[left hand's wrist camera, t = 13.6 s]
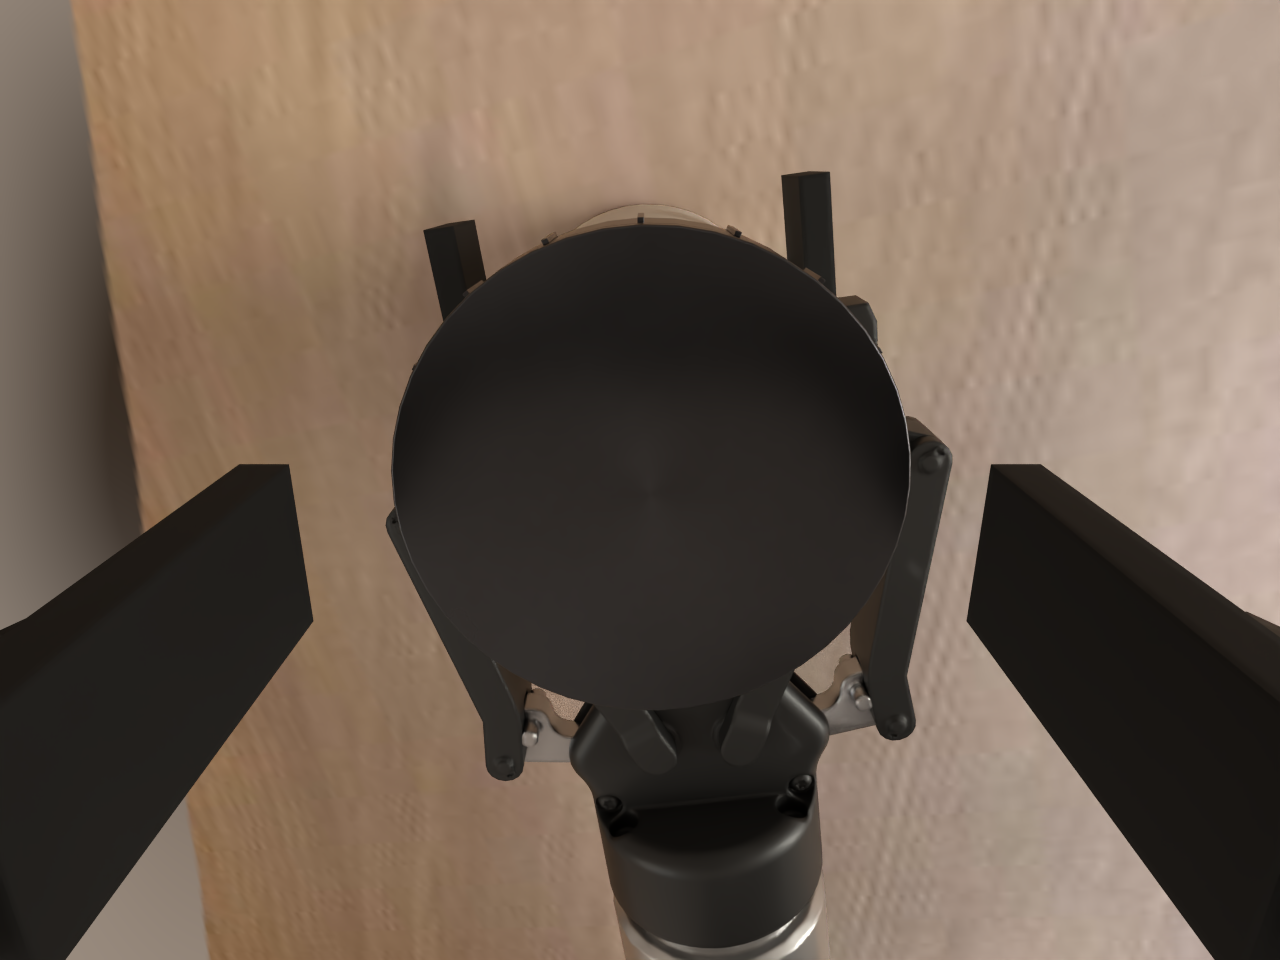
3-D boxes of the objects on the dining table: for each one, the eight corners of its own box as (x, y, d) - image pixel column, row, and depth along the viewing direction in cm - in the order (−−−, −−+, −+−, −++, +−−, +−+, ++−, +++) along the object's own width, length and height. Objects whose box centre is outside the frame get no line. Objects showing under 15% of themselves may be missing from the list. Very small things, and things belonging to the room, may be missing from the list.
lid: (736, 719, 19) (746, 779, 17) (347, 543, 17) (312, 588, 15) (979, 364, 16) (1023, 391, 14) (537, 115, 14) (520, 108, 12)
